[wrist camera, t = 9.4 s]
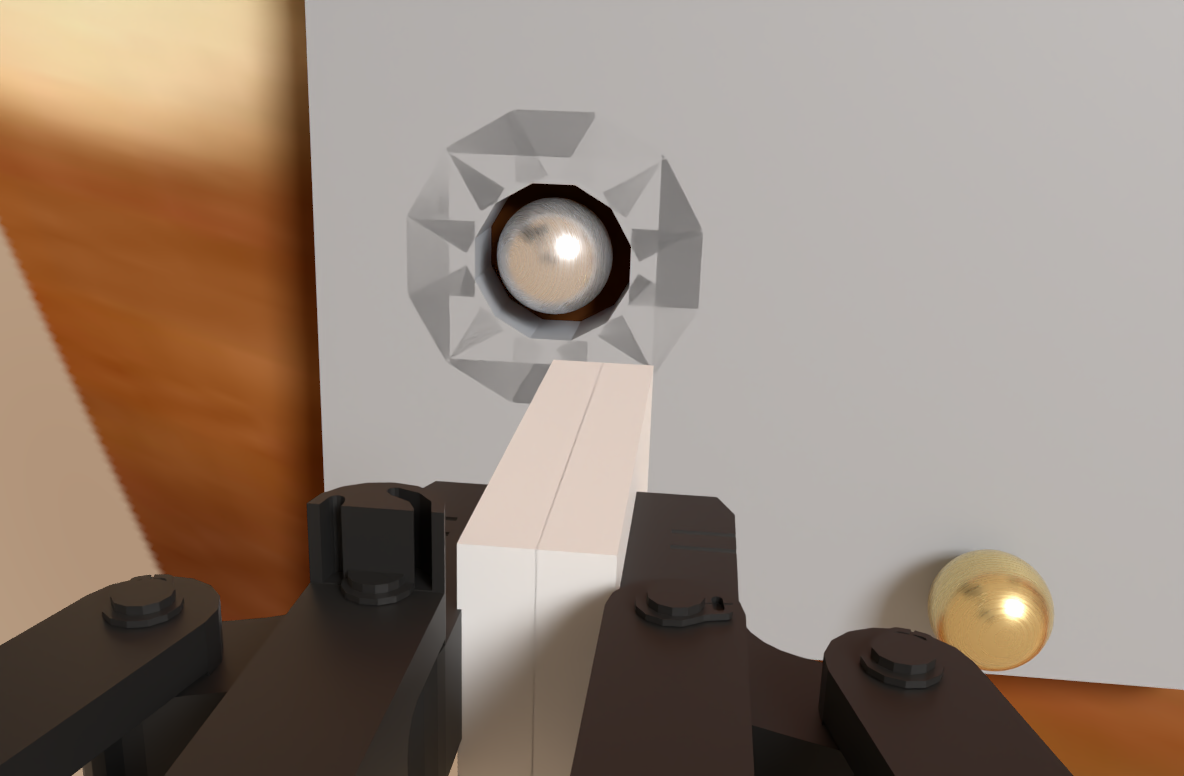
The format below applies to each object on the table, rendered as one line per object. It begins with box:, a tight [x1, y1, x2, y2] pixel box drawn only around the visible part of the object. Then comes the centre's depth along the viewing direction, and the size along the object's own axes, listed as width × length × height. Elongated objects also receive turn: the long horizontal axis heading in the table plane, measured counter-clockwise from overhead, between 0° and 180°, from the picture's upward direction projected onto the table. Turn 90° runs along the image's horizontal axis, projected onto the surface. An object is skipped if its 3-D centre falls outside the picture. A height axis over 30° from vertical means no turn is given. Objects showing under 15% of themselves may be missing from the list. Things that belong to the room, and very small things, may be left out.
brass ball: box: [927, 549, 1054, 671], centre depth 32 cm, size 3×3×3 cm
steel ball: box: [497, 197, 613, 314], centre depth 33 cm, size 3×3×3 cm
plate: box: [305, 0, 1184, 690], centre depth 33 cm, size 28×24×2 cm
